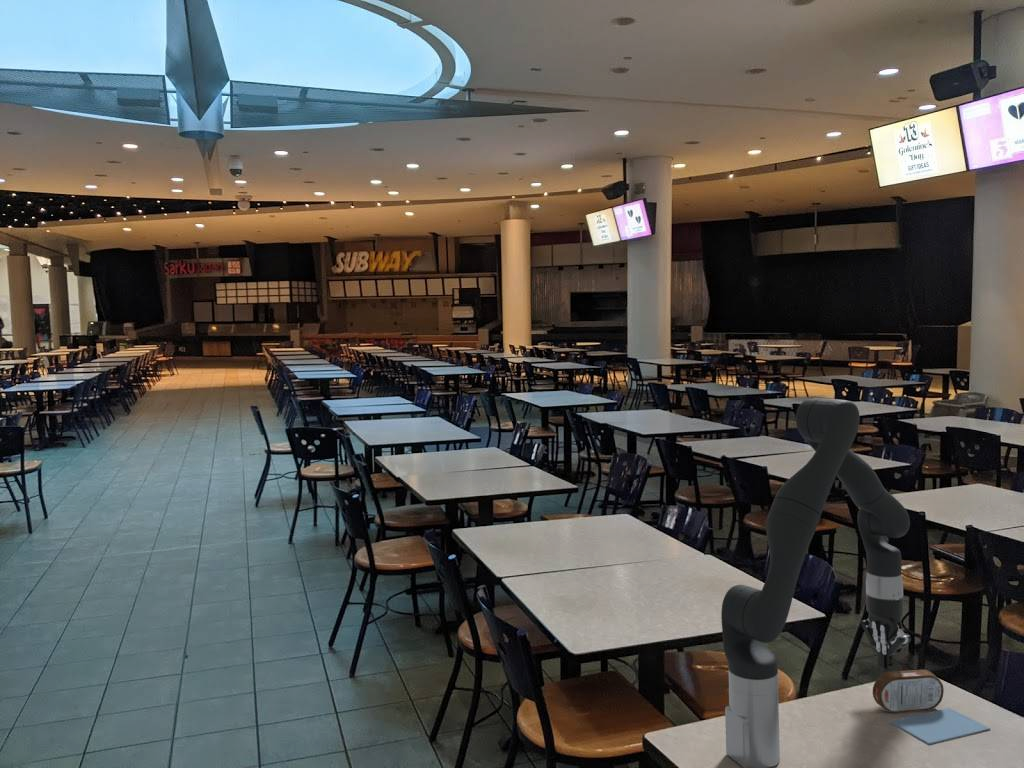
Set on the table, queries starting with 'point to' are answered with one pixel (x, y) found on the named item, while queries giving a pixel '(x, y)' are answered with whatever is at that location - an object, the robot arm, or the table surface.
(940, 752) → the table surface
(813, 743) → the table surface
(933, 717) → the mat
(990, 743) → the table surface
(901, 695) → the tin
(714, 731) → the table surface
